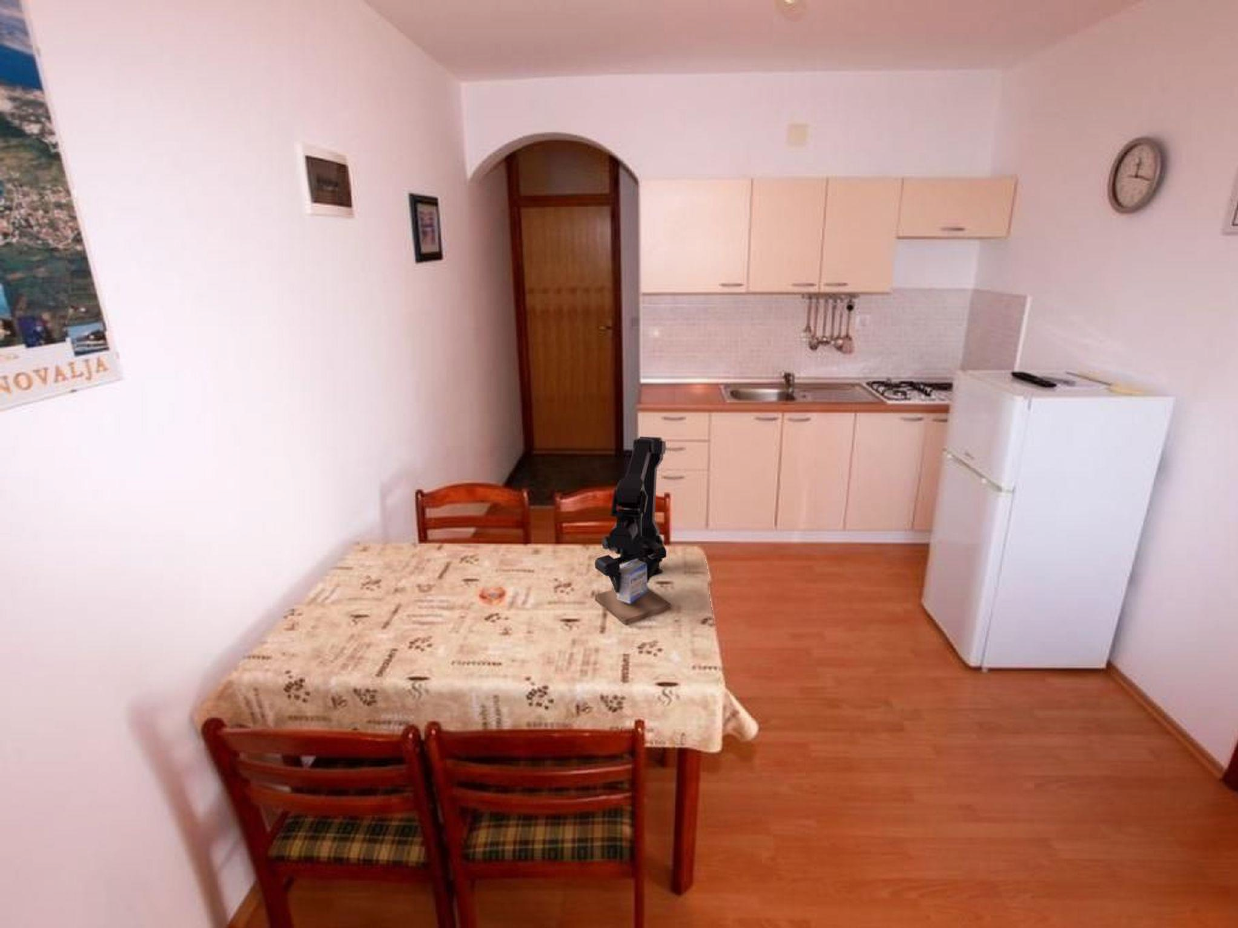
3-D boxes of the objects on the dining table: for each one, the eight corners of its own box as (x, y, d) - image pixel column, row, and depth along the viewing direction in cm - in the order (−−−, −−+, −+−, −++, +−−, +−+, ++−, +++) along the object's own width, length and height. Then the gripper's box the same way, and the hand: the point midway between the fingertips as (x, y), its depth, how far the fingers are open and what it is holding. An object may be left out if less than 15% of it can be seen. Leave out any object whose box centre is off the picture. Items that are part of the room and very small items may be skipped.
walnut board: (638, 585, 182) (638, 580, 181) (670, 608, 170) (670, 603, 169) (594, 600, 175) (594, 595, 174) (625, 625, 163) (625, 619, 162)
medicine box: (630, 604, 167) (629, 574, 165) (616, 599, 170) (615, 569, 167) (647, 592, 173) (647, 562, 170) (634, 587, 176) (633, 558, 173)
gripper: (642, 514, 177) (643, 566, 182) (582, 530, 168) (585, 585, 173) (667, 527, 168) (667, 581, 173) (605, 545, 159) (607, 602, 164)
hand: (631, 587), depth 171 cm, fingers closed on medicine box, 9 cm apart
